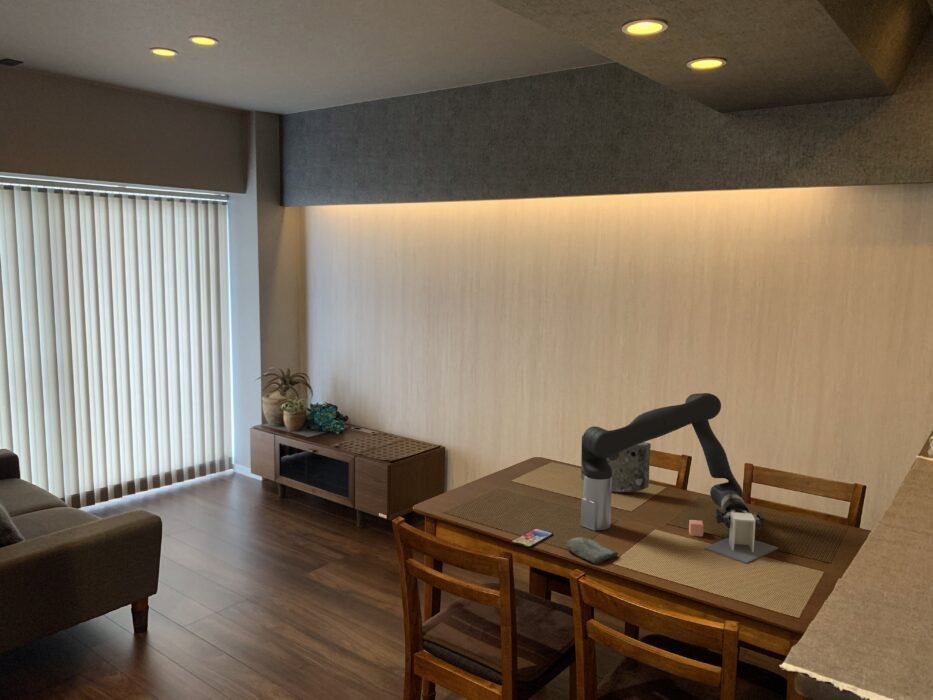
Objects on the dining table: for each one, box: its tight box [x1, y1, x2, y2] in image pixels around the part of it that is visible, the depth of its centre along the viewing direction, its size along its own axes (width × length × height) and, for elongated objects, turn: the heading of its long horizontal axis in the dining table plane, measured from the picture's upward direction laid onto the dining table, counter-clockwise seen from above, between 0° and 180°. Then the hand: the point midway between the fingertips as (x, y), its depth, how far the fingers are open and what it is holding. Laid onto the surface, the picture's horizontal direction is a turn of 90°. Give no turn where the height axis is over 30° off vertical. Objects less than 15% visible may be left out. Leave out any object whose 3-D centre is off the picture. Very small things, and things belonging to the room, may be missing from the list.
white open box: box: [728, 512, 756, 552], centre depth 224 cm, size 6×6×10 cm
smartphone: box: [510, 528, 554, 549], centre depth 232 cm, size 7×1×15 cm
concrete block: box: [580, 435, 652, 493], centre depth 281 cm, size 27×9×20 cm, turn 55°
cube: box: [688, 519, 705, 537], centre depth 237 cm, size 4×4×4 cm
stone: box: [565, 536, 619, 566], centre depth 220 cm, size 11×4×15 cm
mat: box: [704, 536, 779, 565], centre depth 224 cm, size 18×14×1 cm
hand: (743, 526), depth 222 cm, fingers open, 8 cm apart
